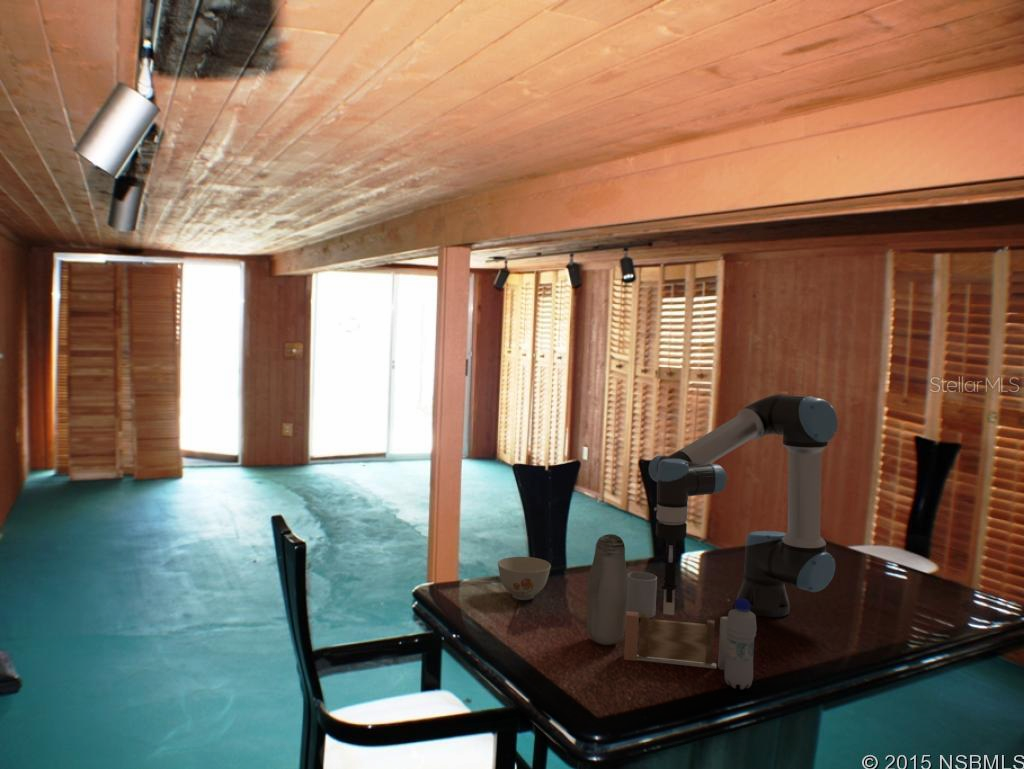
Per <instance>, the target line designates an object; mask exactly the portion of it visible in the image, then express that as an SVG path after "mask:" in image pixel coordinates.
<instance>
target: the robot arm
mask: <svg viewBox="0 0 1024 769" xmlns="http://www.w3.org/2000/svg"><path fill="white" fill-rule="evenodd" d="M837 430H838V416H837V412H836V410H835V408H834V407H833V406H832V405H831V403H830V402H829V401H828V400H825V399H823V398H819V397H818V398H817V397H815V396H805V395H791V394H789V395H788V394H782V393H781V394H774V395H769V396H767V397H766V396H765V397H763V398H761V399H759V400H756V401H754V402H752V403H750V404H749V405H747V406H745V407H744V408H741V409H740V410H739V411H738V412H737V415H736V416H735V417H733V418H731V419H730V420H728V421H727V422H725V423H723V424H721V425H719V426H718V427H716V428H714V429H713V430H711V431H710V432H708V433H706V434H704V435H703V436H701V437H699V438H698V439H696V440H694V441H692V442H691V443H689V444H687V445H686V446H684V447H682V448H681V449H679V450H677V451H675V452H674V453H672V454H669V455H668V456H667V455H664V454H663V455H656V456H654V457H653V458H652V459H651V460H650V462H649V464H648V475H649V477H650V479H651V480H653V481H654V482H656V506H654V508H653V511H655V512H656V522H655V535H656V537H658V538H660V539H664V540H665V541H662V553H663V555H662V556H663V561H662V562H663V563H664V578H663V580H664V582H663V584H664V585H661V590H663V606H662V607H663V611H662V614H663V615H669V616H674V615H675V606H676V605H675V602H676V600H675V598H676V588H678V583H676V564H677V563H678V554H679V552H680V550H679V549H680V546H679V542H676V541H677V540H679V541H680V540H681V541H682V540H684V539H686V538H687V530H688V528H687V525H688V524H687V523H686V522H687V520H688V498H689V497H694V496H705V495H714V494H718V493H721V492H723V491H724V490H725V489H726V486H727V481H728V480H727V478H728V477H727V474H726V471H725V469H724V467H722V466H721V465H719V464H717V463H715V461H717V460H719V459H720V458H722V457H724V456H726V455H727V454H729V453H730V452H732V451H734V450H735V449H737V448H739V447H740V446H742V445H744V444H745V443H747V442H749V441H750V440H758V439H760V438H763V437H764V436H768V435H778V436H782V445H783V447H785V448H786V450H787V451H788V456H787V457H788V459H787V460H788V461H787V467H788V468H787V470H788V471H787V472H788V475H787V476H788V477H787V533H786V532H782V531H774V530H772V531H771V530H761V531H760V530H759V531H757V530H756V531H751V532H749V533H748V534H747V535H746V539H745V541H746V542H745V545H744V564H743V566H744V568H743V580H742V584H741V586H740V589H739V590H738V593H737V596H736V600H737V599H740V598H741V599H746V600H748V601H749V602H750V611H751V612H752V613H754V614H755V616H758V617H759V616H760V617H767V618H781V617H785V616H787V615H789V614H790V607H791V606H790V600H789V597H788V593H787V590H786V586H785V585H786V584H787V585H790V586H792V587H796V588H798V589H800V590H802V591H808V592H811V593H817V592H821V591H822V590H824V589H826V587H827V586H828V585H829V583H830V582H831V581H832V580H833V578H834V575H835V571H836V560H835V558H834V557H833V556H832V555H831V553H829V552H827V542H826V541H825V539H824V538H823V537H822V536H821V516H822V515H821V514H822V513H821V512H822V510H821V508H822V506H821V505H822V504H821V503H822V501H821V500H822V453H823V451H825V449H826V448H827V447H828V442H829V441H831V440H832V439H833V438H834V437H835V435H836V434H835V433H836V432H837ZM713 463H714V464H713Z"/></svg>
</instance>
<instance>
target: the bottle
mask: <svg viewBox="0 0 1024 769" xmlns="http://www.w3.org/2000/svg"><path fill="white" fill-rule="evenodd" d="M727 617H728V619H727V623H726V627H727V629H726V632H727V634H728V635H727V651H726V662H725V670H723V671H724V681H725V683H726V685H727V686H731V687H732V688H733V689H736V688H737V685H738V686H739V689H740V690H745V689H749V688H751V686H752V684H753V680H754V652H755V651H754V650H755V649H754V648H755V637H756V636H757V630H758V629H757V615H755V614H754V613H752V612H751V611H750V602H749V601H748V600H746V599H741V598H740V599H737V598H736V600H735V602H734V609H731V610H729V611H728V614H727Z"/></svg>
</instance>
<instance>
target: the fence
mask: <svg viewBox="0 0 1024 769" xmlns="http://www.w3.org/2000/svg"><path fill="white" fill-rule="evenodd" d="M639 619H640V618H639V612H631V611H626V628H625V632H624V634H625V635H624V636H625V637H624V655H623V660H626V661H633V662H635V661H636V662H637V661H643V662H650V663H651V662H652V663H659V664H660V663H661V664H670V665H678V666H679V665H680V666H690V667H697V668H708V669H715V670H716V669H717V668H718V670H721V671H725V662H726V651H727V635H728V634H727V632H726V629H727V627H726V623H727V619H728V616H721V617H720V623H719V638H718V639H719V640H718V642H719V643H718V658H717V663H715V662H713V664H708V663H703V662H694V661H684V660H674V659H665V658H655V657H641V656H639V654H638V640H639Z"/></svg>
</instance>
